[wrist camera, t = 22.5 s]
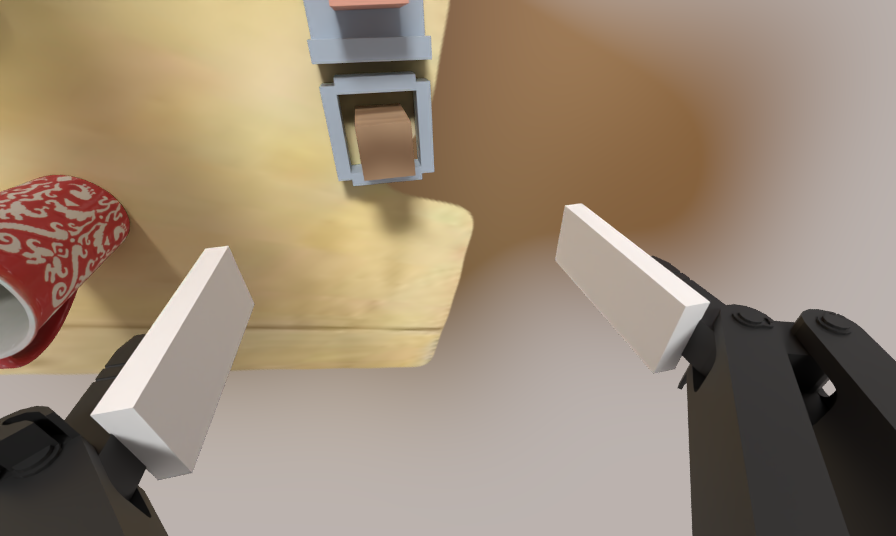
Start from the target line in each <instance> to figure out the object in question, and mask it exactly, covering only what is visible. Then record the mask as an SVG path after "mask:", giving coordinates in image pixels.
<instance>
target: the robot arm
mask: <svg viewBox="0 0 896 536" xmlns="http://www.w3.org/2000/svg"><path fill="white" fill-rule="evenodd" d="M555 261H556V262H557V263H558V264H559V265H560V266H561V268H562V269H563V270H564V271H565V272H566V273H567V275H568V276H569V277H570V278H571V279H572V280H573V281H574V283H575V284H576V285H577V286H578V287H579V288H580V290H581V291H582V292H583V293H584V294H585V295H586V296H587V298H588V299H589V300H590V301H591V302H592V303H593V304H594V305H595V307H596V308H597V309H598V310H599V311H600V313H601V314H602V315H603V316H604V317H605V318H606V319H607V321H608V322H609V323H610V324H611V325H612V326H613V327H614V329H615V330H616V331H617V332H618V333H619V334H620V336H621V337H622V338H623V339H624V340H625V341H626V343H627V344H628V345H629V346H630V347H631V348H632V350H633V351H634V352H635V353H636V354H637V355H638V356H639V358H640V359H641V360H642V361H643V362H644V363H645V364H646V365H647V367H648V368H649V369H650V370H651V371H652V372H653V373H658V372H663V371H668V370H672V369H675V368H676V366H677V364H678V362H679V360H680V358H681V356H683V357H684V358H685V359H686V360H687V361H688V362H689V363H690V365H689V367H688V368H687V370H686V372H685V374H684V375H683V377H682V379H681V381H680V383H679V385H678V388H679V389H682V388H683V386H684V385H685V384H686V383H687V399H688V428H689V451H690V452H689V454H690V481H691V508H692V534H693V536H896V361H895V360H894V359H893V358H892V357H891V356H890V355H889V354H888V353H887V352H886V351H885V350H883V348H882V347H881V346H880V345H879V344H878V343H876V342H875V341H874V340H873V339H872V338H871V337H870V336H869V335H868V334H867V333H866V332H865V331H864V330H863V329H862V328H861V327H860V326H858V325H857V324H856V323H854V322H853V321H851V320H849V319H847V318H845V317H844V316H842V315H839V314H836V313H833V312H829V311H823V310H819V309H808V310H806V311H803V312H802V313H801V315H800V316H799V318H798V319H797V320H796V322H780V321H773V320H772V319H771V318H770V317H768V316H767V315H766V314H764V313H762V312H760V311H758V310H756V309H753V308H750V307H747V306H742V305H735V304H733V305H725V304H724V303H722V302H721V301H720V300H718V299H717V298H715V297H714V296H713V295H712V294H710V293H709V292H707V291H706V290H705V289H703V288H702V287H701V286H699V285H698V284H697V283H695V282H694V281H692V280H690V278H689V277H687V276H686V275H685V274H683V273H680V271H679V270H678V269H676V268H675V267H674V266H672V265H671V264H670V263H668V262H666V261H664V260H662V259H660V258H657V257H655V256H649V255H648V254H647V253H646V252H644V251H643V250H642V249H640V248H639V247H638V246H636V245H635V244H634V243H632V242H631V241H630V240H629V239H627V238H626V237H625V236H623V235H622V234H621V233H619V232H618V231H617V230H615V229H614V228H613V227H612V226H610V225H609V224H608V223H606V222H605V221H603V219H601V218H600V217H599V216H597V215H596V214H594V213H593V212H592V211H591V210H589V209H588V208H587V207H585V206H584V205H583V204H574V205H566V206H565V209H564V215H563V220H562V225H561V230H560V236H559V241H558V247H557V252H556V258H555ZM254 305H255V304H254V302H253V300H252V297H251V295H250V293H249V291H248V288H247V286H246V284H245V282H244V279H243V277H242V275H241V273H240V270H239V268H238V266H237V264H236V261H235V259H234V257H233V255H232V252H231V250H230V248H229V246H223V247H214V248H206V249H205V250H204V251H203V253H202V254H201V256H200V257H199V258H198V260H197V261H196V263H195V264H194V266H193V267H192V269H191V270H190V271H189V273H188V274H187V276H186V277H185V279H184V280H183V282H182V283H181V285H180V286H179V287H178V289H177V290H176V292H175V293H174V295H173V296H172V298H171V299H170V300H169V302H168V303H167V305H166V306H165V308H164V309H163V311H162V312H161V313H160V315H159V316H158V318H157V319H156V321H155V322H154V324H153V325H152V327H151V328H150V329H149V331H148V332H147V334H142V335H136V336H134V337H133V338H131V339H130V340H129V341H128V342H127V343H125V344H124V345H123V346H122V347H120V348H119V349H118V350H117V351H116V352H115V353H114V355H113V356H112V357H111V359H110V360H109V361H108V363H107V364H106V365H105V369H102V371H101V372H100V373H99V375H98V376H97V378H96V382H93V383H92V384H91V386H90V387H89V388H88V390H87V391H86V392H85V394H84V395H83V396H82V398H81V399H80V400H79V402H78V403H77V404H76V406H75V407H74V408H73V410H72V411H71V412H70V414H69V415H68V416H67V418H66V419H65V420H63V419H62V418H61V417H60V416H58V415H57V414H56V413H55V412H54V411H53V410H51V409H50V408H49V407H44V406H34V407H30V408H27V409H22V410H19V411H17V412H14V413H12V414H10V415H7V416H5V417H3V418H1V419H0V536H168V534H167V532H166V531H165V529H164V527H163V525H162V523H161V521H160V519H159V517H158V515H157V514H156V512H155V510H154V508H153V506H152V505H151V502H150V500H149V498H148V497H147V495H146V493H145V491H144V490H143V489H142V488H140V487H139V486H138V484H139V482H140V480H141V478H142V476H143V473H144V471H145V469H147V470H148V471H149V472H150V473H151V474H152V475H153V476H155V478H157V480H162V479H166V478H171V477H176V476H180V475H185V474H189V473H192V472H193V469H194V467H195V464H196V461H197V459H198V456H199V453H200V451H201V448H202V445H203V442H204V440H205V437H206V434H207V431H208V429H209V426H210V423H211V421H212V418H213V415H214V413H215V410H216V407H217V405H218V402H219V399H220V396H221V394H222V391H223V388H224V386H225V383H226V380H227V378H228V375H229V372H230V369H231V367H232V364H233V361H234V359H235V356H236V353H237V351H238V348H239V345H240V342H241V340H242V337H243V334H244V332H245V329H246V326H247V324H248V321H249V318H250V315H251V313H252V310H253V307H254ZM829 379H830V380H831V382H832V383H833V384H834V386H835V388H836V391H835V392H834V393H833V394H832V395H830V396H828V395H827V394H826V393H825V391H824V390H823V389H822V387H823V386H824V385H825V384H826V383H827V381H828V380H829Z"/></svg>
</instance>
